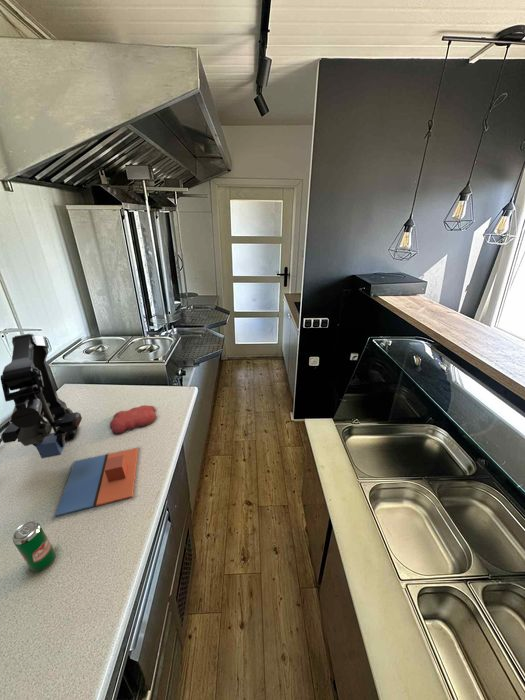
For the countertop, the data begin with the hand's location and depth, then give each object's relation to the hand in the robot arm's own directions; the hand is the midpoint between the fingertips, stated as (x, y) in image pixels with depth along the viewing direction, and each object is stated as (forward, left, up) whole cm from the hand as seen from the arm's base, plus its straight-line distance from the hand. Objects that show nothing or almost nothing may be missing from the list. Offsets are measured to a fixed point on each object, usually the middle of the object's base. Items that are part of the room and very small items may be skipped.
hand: (53, 448), depth 88 cm
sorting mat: (+6, +12, -11) cm, 17 cm away
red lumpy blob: (-22, +19, -12) cm, 31 cm away
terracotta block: (+6, +17, -11) cm, 21 cm away
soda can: (+28, +3, -12) cm, 30 cm away
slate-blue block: (0, 0, -1) cm, 1 cm away
